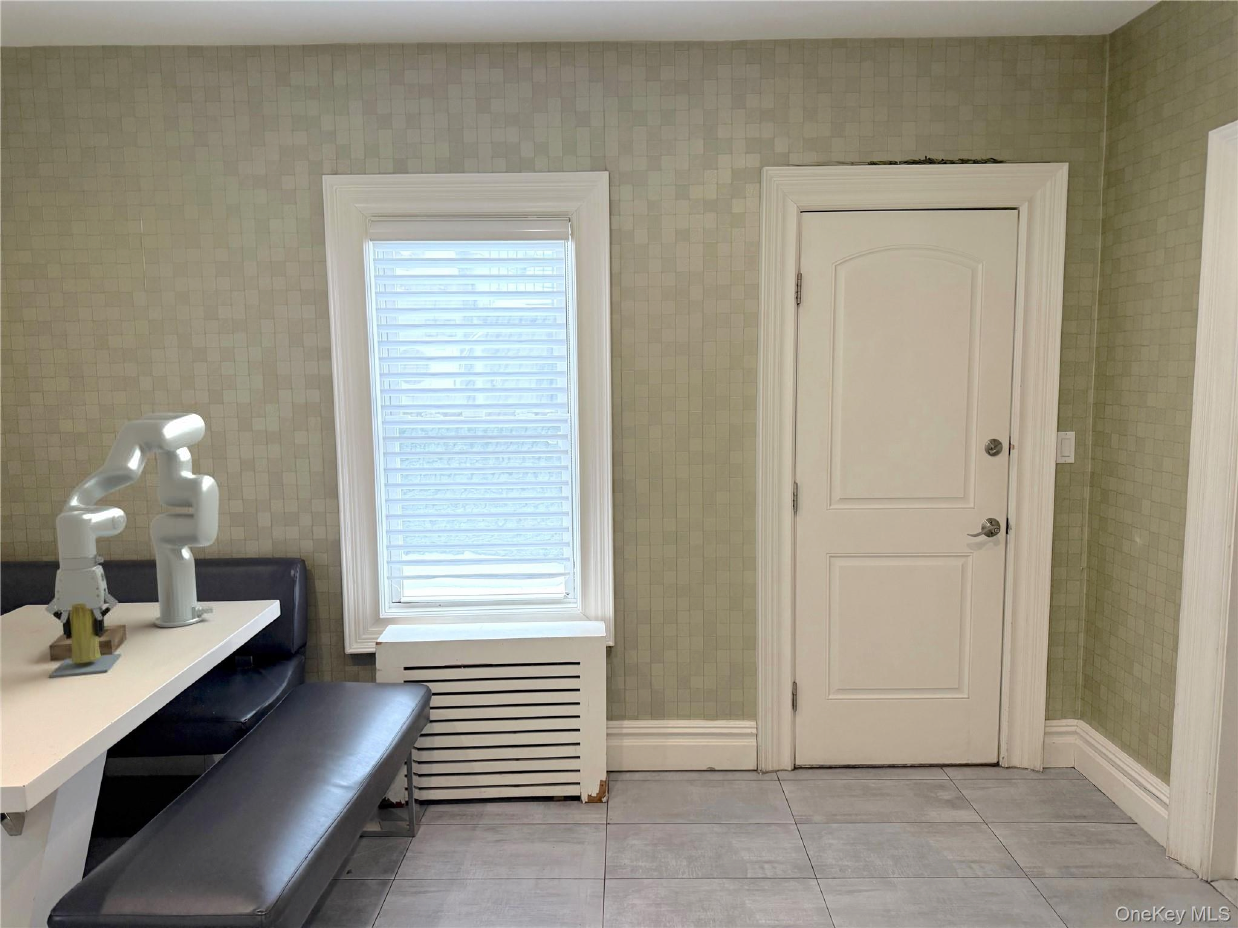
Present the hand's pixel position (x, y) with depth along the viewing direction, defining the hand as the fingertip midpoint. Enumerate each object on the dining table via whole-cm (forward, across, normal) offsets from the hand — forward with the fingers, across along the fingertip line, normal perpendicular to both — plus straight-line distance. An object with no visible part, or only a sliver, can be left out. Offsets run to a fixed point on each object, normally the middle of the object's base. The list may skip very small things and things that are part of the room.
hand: (84, 635), depth 198 cm
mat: (+8, 0, 0) cm, 8 cm away
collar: (+8, +3, -14) cm, 16 cm away
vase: (+6, 0, 0) cm, 6 cm away
